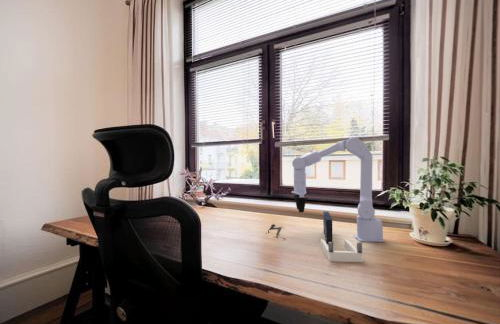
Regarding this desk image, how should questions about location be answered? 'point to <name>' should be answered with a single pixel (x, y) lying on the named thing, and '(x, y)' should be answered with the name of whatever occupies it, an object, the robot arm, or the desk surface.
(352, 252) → the rail dock
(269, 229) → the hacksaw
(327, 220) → the vhs cassette tape
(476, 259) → the desk surface
